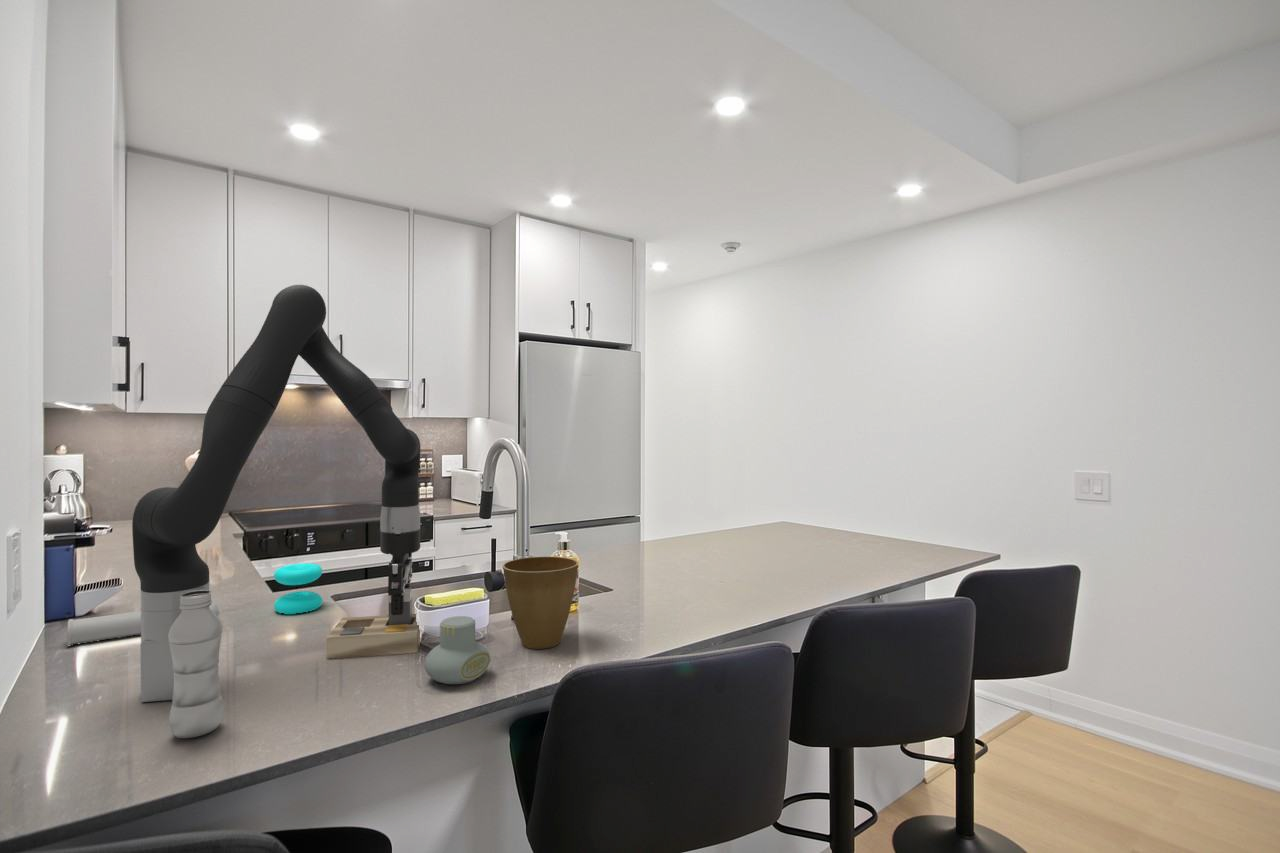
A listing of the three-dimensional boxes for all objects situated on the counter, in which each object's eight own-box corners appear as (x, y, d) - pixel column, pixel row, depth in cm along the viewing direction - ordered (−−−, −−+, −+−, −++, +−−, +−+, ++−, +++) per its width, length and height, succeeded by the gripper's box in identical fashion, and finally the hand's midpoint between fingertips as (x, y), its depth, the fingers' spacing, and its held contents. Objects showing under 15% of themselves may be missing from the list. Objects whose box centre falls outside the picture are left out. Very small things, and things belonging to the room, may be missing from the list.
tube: (218, 601, 146) (70, 620, 132) (219, 598, 142) (67, 618, 127) (218, 625, 145) (69, 647, 130) (220, 623, 141) (66, 646, 126)
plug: (409, 643, 130) (409, 593, 130) (388, 644, 129) (388, 594, 129) (412, 636, 134) (412, 588, 134) (391, 638, 133) (391, 589, 133)
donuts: (328, 567, 152) (280, 574, 146) (328, 610, 152) (280, 618, 146) (314, 560, 160) (269, 566, 153) (315, 601, 160) (269, 609, 153)
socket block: (416, 652, 125) (416, 630, 125) (326, 658, 122) (326, 635, 122) (424, 632, 137) (424, 611, 137) (342, 637, 134) (342, 616, 134)
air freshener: (452, 695, 106) (452, 633, 106) (416, 684, 110) (416, 625, 110) (497, 672, 116) (497, 616, 116) (462, 663, 120) (462, 609, 120)
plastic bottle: (234, 721, 97) (233, 586, 96) (205, 744, 90) (204, 599, 90) (189, 722, 97) (188, 587, 96) (157, 745, 90) (156, 600, 89)
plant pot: (593, 639, 133) (593, 560, 133) (543, 662, 121) (543, 575, 120) (538, 626, 141) (538, 552, 141) (486, 646, 129) (486, 565, 129)
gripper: (386, 522, 137) (387, 599, 138) (373, 534, 124) (374, 620, 124) (424, 521, 139) (424, 597, 139) (415, 533, 125) (415, 617, 125)
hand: (400, 608), depth 132 cm, fingers open, 8 cm apart
